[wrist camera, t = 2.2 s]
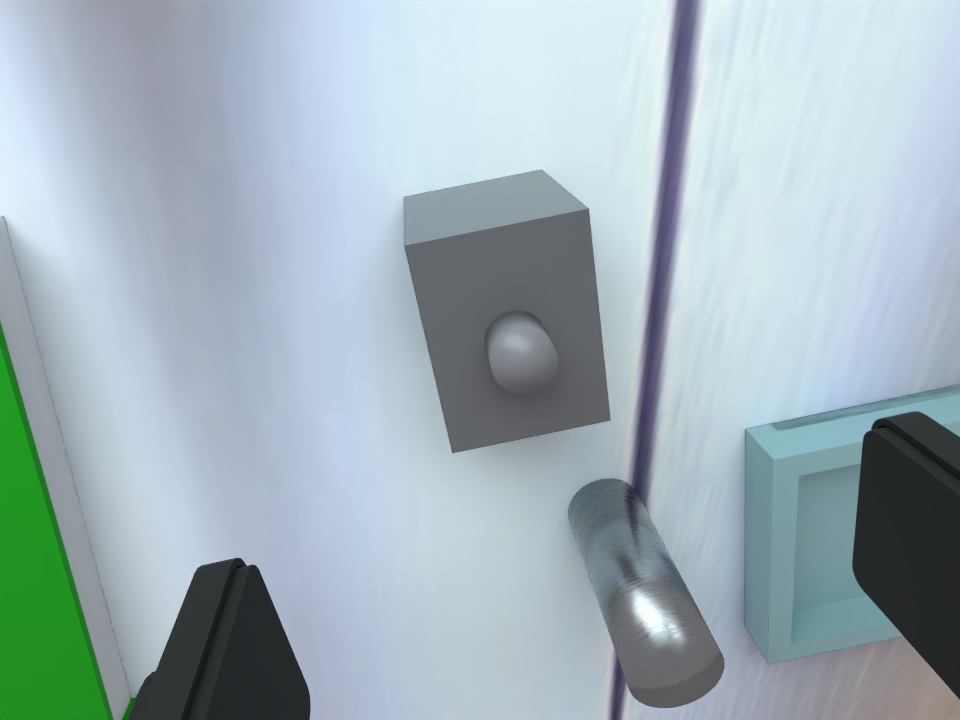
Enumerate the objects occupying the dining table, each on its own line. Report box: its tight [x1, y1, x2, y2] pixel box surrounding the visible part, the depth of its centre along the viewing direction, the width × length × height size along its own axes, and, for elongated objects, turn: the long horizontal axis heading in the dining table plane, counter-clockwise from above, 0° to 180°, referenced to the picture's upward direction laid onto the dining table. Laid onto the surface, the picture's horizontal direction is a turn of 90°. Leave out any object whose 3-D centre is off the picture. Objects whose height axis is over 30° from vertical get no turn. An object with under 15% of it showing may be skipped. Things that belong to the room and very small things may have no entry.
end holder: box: [745, 385, 960, 665], centre depth 28 cm, size 10×11×2 cm
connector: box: [404, 169, 610, 453], centre depth 19 cm, size 4×6×8 cm
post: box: [568, 479, 724, 708], centre depth 24 cm, size 3×3×8 cm
